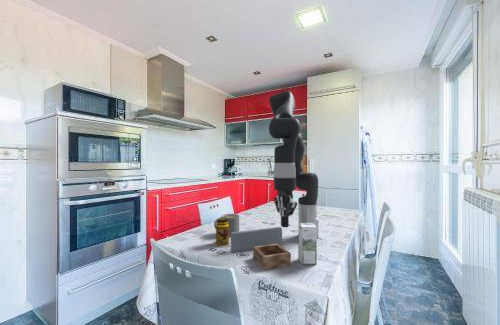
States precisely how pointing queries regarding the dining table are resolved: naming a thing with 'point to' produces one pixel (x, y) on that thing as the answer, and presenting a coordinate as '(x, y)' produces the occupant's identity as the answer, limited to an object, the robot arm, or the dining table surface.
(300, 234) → the syrup box
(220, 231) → the condiment
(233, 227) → the coffee mug
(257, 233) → the backstop wall
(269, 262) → the socket block
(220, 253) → the dining table surface
